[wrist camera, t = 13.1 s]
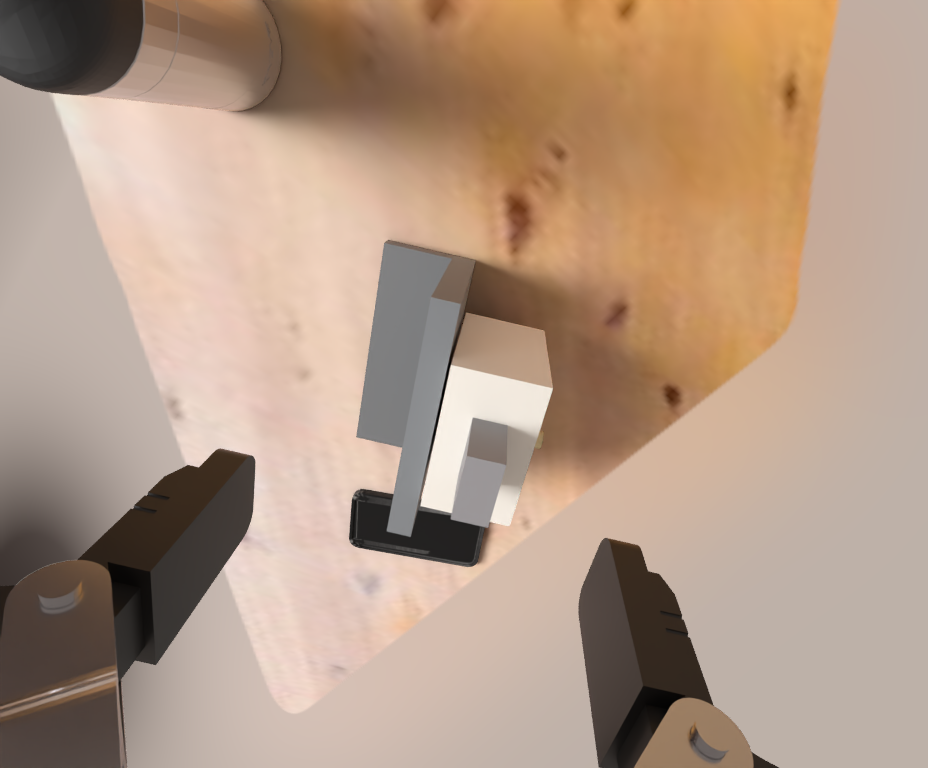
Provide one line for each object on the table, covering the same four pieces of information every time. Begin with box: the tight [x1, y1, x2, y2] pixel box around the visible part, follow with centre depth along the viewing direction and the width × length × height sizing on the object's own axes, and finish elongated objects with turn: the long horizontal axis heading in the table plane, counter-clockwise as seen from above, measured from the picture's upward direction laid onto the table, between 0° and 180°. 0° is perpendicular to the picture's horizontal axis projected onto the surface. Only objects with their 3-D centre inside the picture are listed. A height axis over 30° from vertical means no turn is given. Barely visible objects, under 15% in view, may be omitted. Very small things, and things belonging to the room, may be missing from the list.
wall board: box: [356, 240, 476, 537], centre depth 45 cm, size 12×20×14 cm, turn 168°
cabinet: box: [420, 312, 553, 528], centre depth 41 cm, size 8×12×17 cm, turn 168°
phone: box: [349, 489, 485, 567], centre depth 60 cm, size 8×1×15 cm
